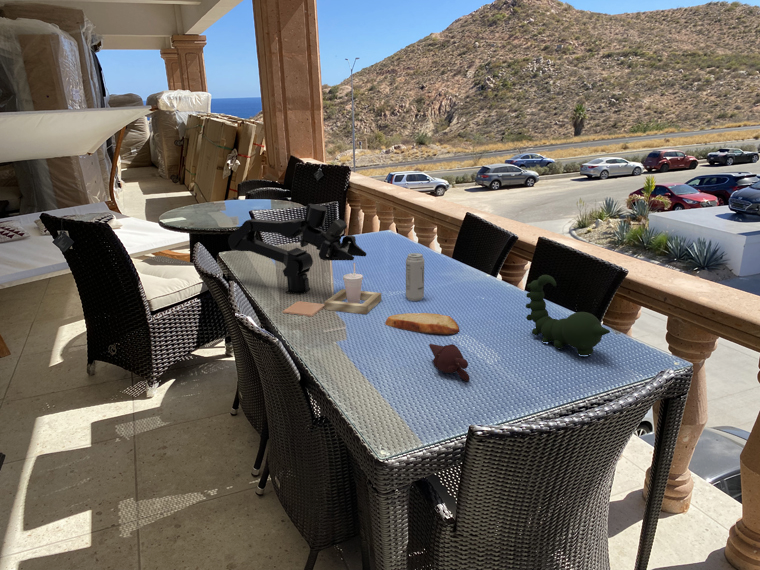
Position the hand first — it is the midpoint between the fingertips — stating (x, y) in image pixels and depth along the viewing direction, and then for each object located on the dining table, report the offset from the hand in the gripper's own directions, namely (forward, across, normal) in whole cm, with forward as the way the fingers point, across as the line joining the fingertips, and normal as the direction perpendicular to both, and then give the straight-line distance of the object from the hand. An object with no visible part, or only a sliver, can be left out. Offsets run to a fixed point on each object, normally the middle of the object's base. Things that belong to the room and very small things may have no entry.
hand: (360, 256), depth 170 cm
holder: (+4, -3, +15) cm, 16 cm away
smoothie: (+4, -3, +15) cm, 16 cm away
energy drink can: (+19, +10, +9) cm, 23 cm away
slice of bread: (+30, -13, +8) cm, 34 cm away
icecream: (+45, -37, +6) cm, 58 cm away
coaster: (-7, -13, +19) cm, 24 cm away
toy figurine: (+67, -12, -4) cm, 68 cm away
